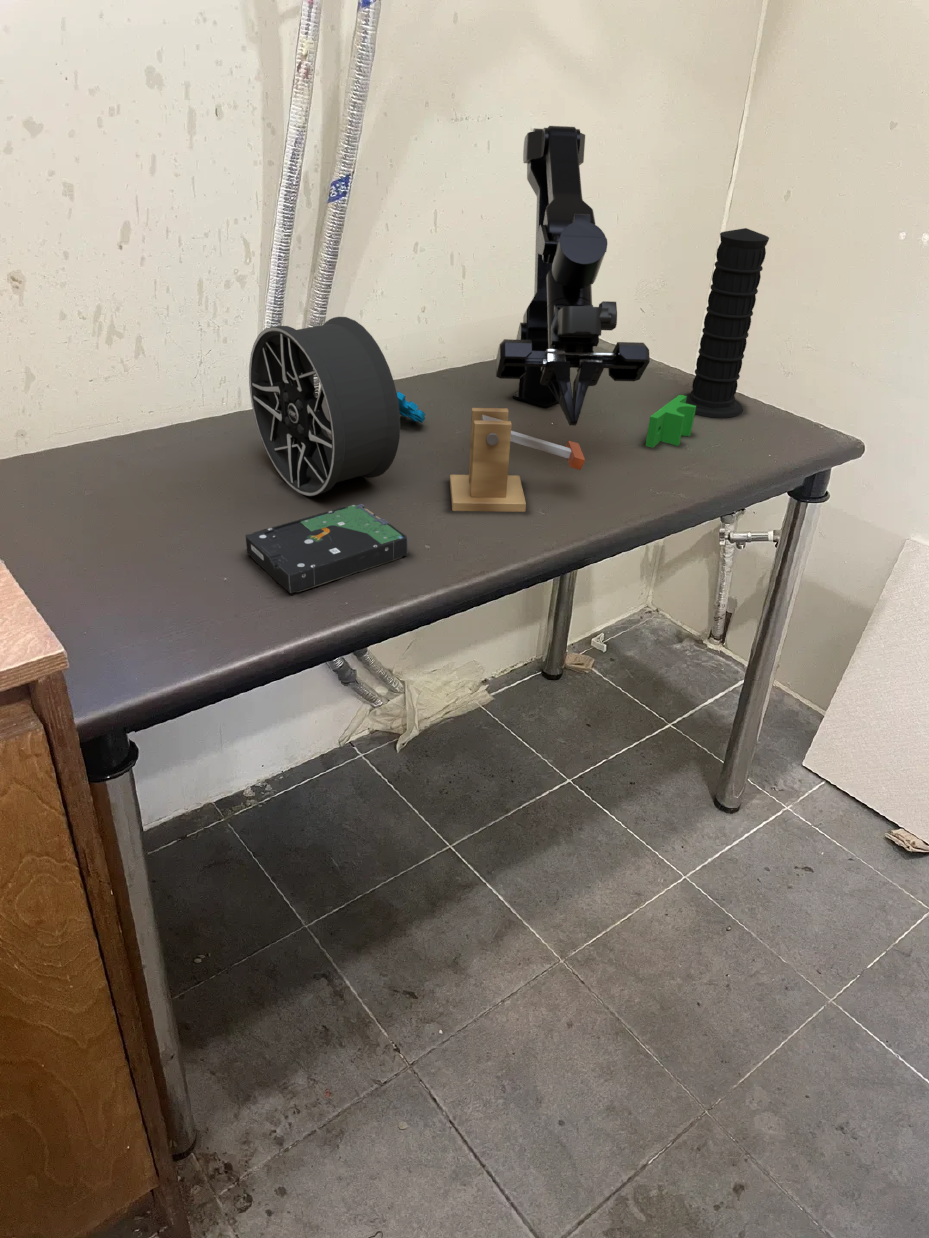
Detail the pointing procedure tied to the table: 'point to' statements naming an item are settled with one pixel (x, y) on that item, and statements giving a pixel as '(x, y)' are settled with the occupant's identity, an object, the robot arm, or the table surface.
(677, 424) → the pipe clamp
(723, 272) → the handle grip
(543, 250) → the robot arm
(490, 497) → the bracket
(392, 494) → the table surface
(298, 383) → the wheel rim
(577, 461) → the lever
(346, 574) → the disk drive
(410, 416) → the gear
